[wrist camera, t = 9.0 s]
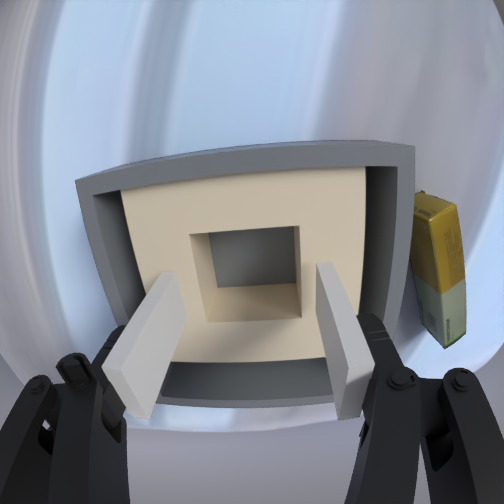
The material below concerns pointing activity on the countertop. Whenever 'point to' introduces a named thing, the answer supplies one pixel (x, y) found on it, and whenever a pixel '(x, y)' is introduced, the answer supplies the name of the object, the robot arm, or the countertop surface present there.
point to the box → (254, 256)
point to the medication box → (439, 268)
